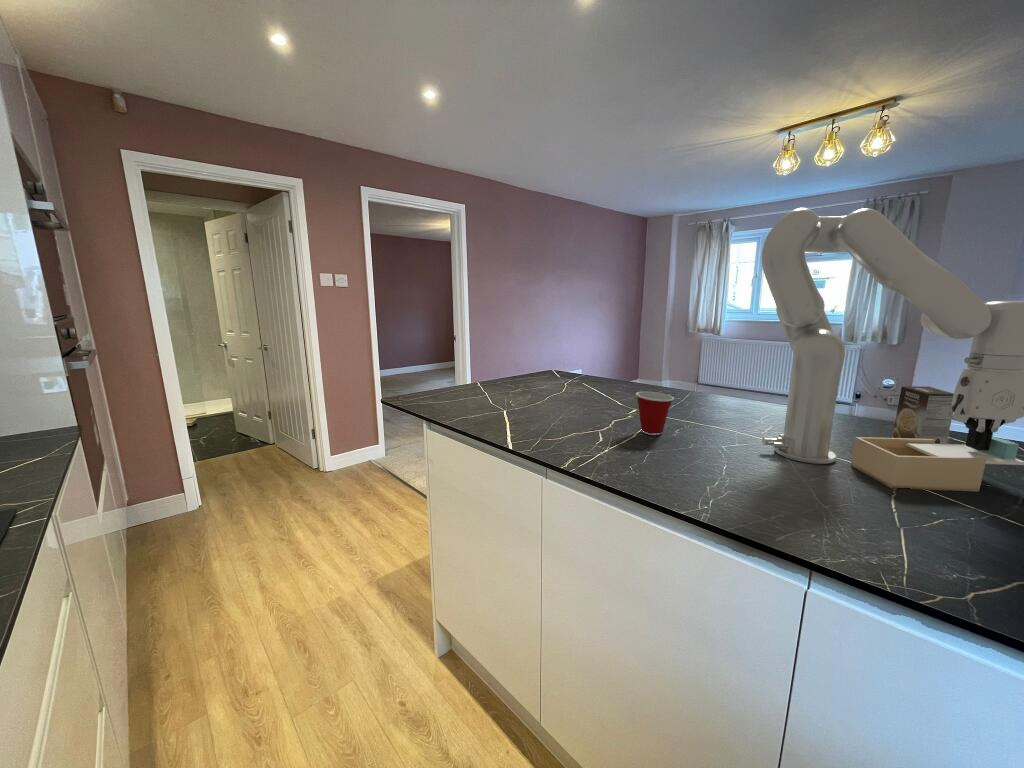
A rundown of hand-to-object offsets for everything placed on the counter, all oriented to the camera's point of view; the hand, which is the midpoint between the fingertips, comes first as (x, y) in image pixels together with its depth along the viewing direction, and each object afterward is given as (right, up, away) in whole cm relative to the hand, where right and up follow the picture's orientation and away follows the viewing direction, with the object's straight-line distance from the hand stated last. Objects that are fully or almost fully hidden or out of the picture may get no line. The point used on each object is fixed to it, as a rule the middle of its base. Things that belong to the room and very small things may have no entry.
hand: (976, 448), depth 85 cm
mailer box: (-11, -7, +3) cm, 14 cm away
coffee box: (+6, -4, +19) cm, 20 cm away
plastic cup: (-56, -1, +36) cm, 67 cm away
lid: (-2, -1, +1) cm, 3 cm away
